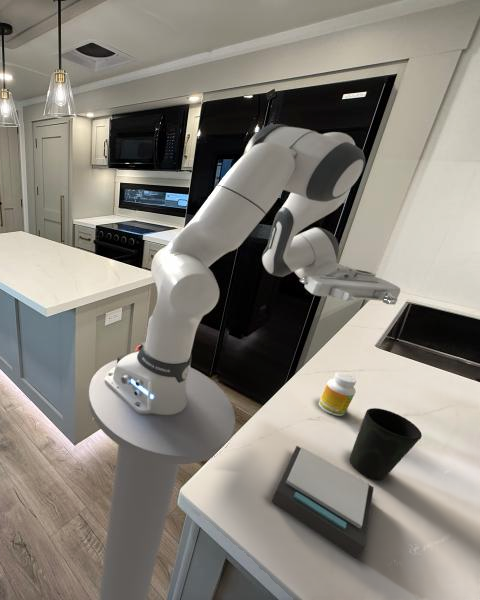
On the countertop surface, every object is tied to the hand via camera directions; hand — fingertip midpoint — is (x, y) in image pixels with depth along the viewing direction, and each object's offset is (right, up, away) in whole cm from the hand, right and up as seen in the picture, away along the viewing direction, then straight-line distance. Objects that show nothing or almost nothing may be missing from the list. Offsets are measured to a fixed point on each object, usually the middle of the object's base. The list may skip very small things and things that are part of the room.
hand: (372, 300), depth 74 cm
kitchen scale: (-27, -36, -18) cm, 49 cm away
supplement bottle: (-7, -28, +4) cm, 29 cm away
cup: (-12, -34, -12) cm, 38 cm away
